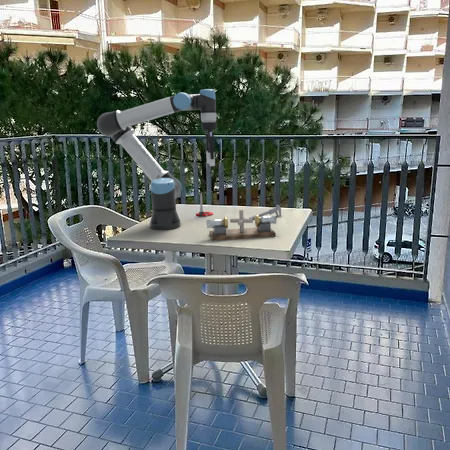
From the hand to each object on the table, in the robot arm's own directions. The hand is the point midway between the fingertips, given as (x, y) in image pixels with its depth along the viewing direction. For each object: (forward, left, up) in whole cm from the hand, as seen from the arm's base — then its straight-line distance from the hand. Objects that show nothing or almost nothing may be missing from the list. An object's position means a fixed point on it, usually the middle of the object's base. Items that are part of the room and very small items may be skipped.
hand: (210, 164), depth 216 cm
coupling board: (+9, -35, -29) cm, 46 cm away
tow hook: (-3, +14, -29) cm, 32 cm away
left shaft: (-2, -35, -27) cm, 44 cm away
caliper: (+27, -3, -29) cm, 40 cm away
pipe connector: (+9, -35, -27) cm, 45 cm away
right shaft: (+20, -35, -27) cm, 49 cm away
